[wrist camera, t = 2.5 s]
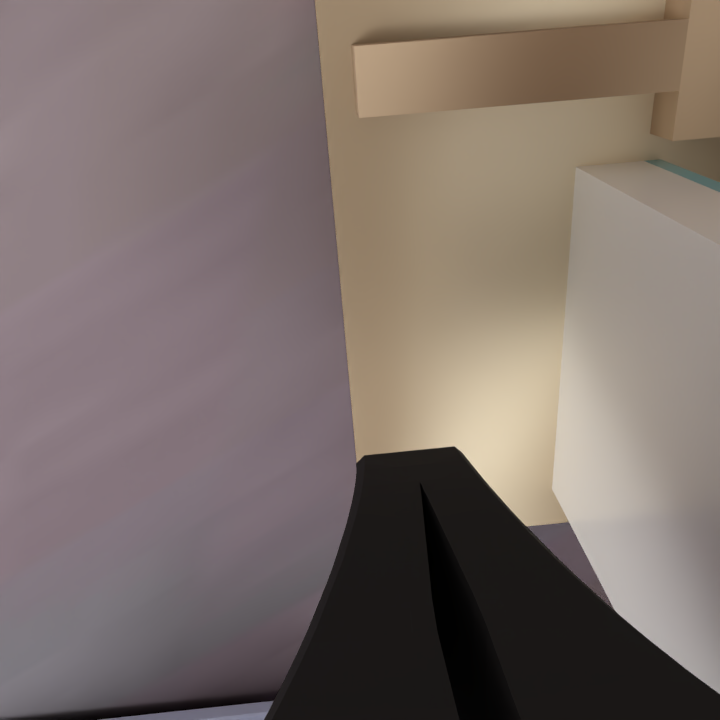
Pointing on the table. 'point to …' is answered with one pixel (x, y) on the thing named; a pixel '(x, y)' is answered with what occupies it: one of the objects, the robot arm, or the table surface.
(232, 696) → the table surface
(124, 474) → the table surface
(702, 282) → the tile
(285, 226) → the table surface
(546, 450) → the board
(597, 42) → the spatula
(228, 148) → the table surface
